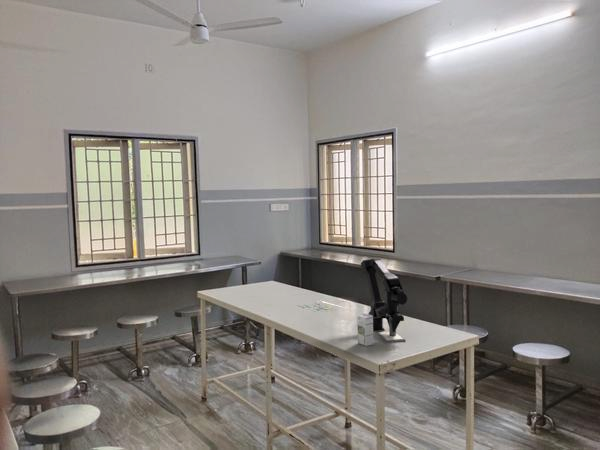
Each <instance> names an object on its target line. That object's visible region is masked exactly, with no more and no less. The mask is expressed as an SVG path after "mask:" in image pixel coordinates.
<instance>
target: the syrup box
mask: <svg viewBox="0 0 600 450" xmlns="http://www.w3.org/2000/svg"><path fill="white" fill-rule="evenodd" d="M368 314H369V313H361V314H358V315H357V317H356V319H357V324H356V325H357V326H356V327H357V344H358V345H362V346H364V347H367V346H370V345H371V346H372V345H374V331H373V316H372V315H368Z"/></svg>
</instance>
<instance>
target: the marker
mask: <svg viewBox="0 0 600 450" xmlns="http://www.w3.org/2000/svg"><path fill="white" fill-rule="evenodd" d="M389 319H390V317H389ZM388 327H389V329H388V330H389V331H388V332H389V335H390V336H396V332H397V330H396V331H395V332H393V331H392V325H391V322H390V321H389V325H388Z"/></svg>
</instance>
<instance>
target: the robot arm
mask: <svg viewBox="0 0 600 450" xmlns="http://www.w3.org/2000/svg"><path fill="white" fill-rule="evenodd" d="M360 267H361V270H362V272H363V273H364V275H365V276H366V279H367V283H368V288H369V293H370V297H371V304H370V310H369V312H368V313H367V314H368V315H372V316H373V332H377V331H378V332H382V331H386V330H385V328H384V326H383V325H384V321H383V320H384V319H386V320H387V325H388V326H389V321H390V322H391V325H392V331H393V332H395V331H396V332H397V329H398V326H399V325H400V323H401V322H404V321H405V317H404V315H402V314H401V313H400V311H399V309H398V308H399V307H398V306H400V305H401V306H403V305H405V304H406V303H407V302H408V296H407V294H406V293H405V292H404V289H403V285H402V284H401V281H400V279H399V277H398V276H396V274H395V273H394V274H393V273H392V272H390V270H389V269H388V268H387V267H386V265H385V264H384V263H383V262H382V260H381V258H379V257H377V258H375V257H374V258H371V259H370V258H369V259H362V260H361V263H360ZM376 272H377V273H378V274H379V276H380V277H381V279H382V285H383V286H384V288H385V289H384V290H383V291H384V292H385V301H384V300H383V299H382V297H381V292H380V289H379V284H378V281H377V280H378V279H377V276H376ZM389 317H390V319H389Z"/></svg>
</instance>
